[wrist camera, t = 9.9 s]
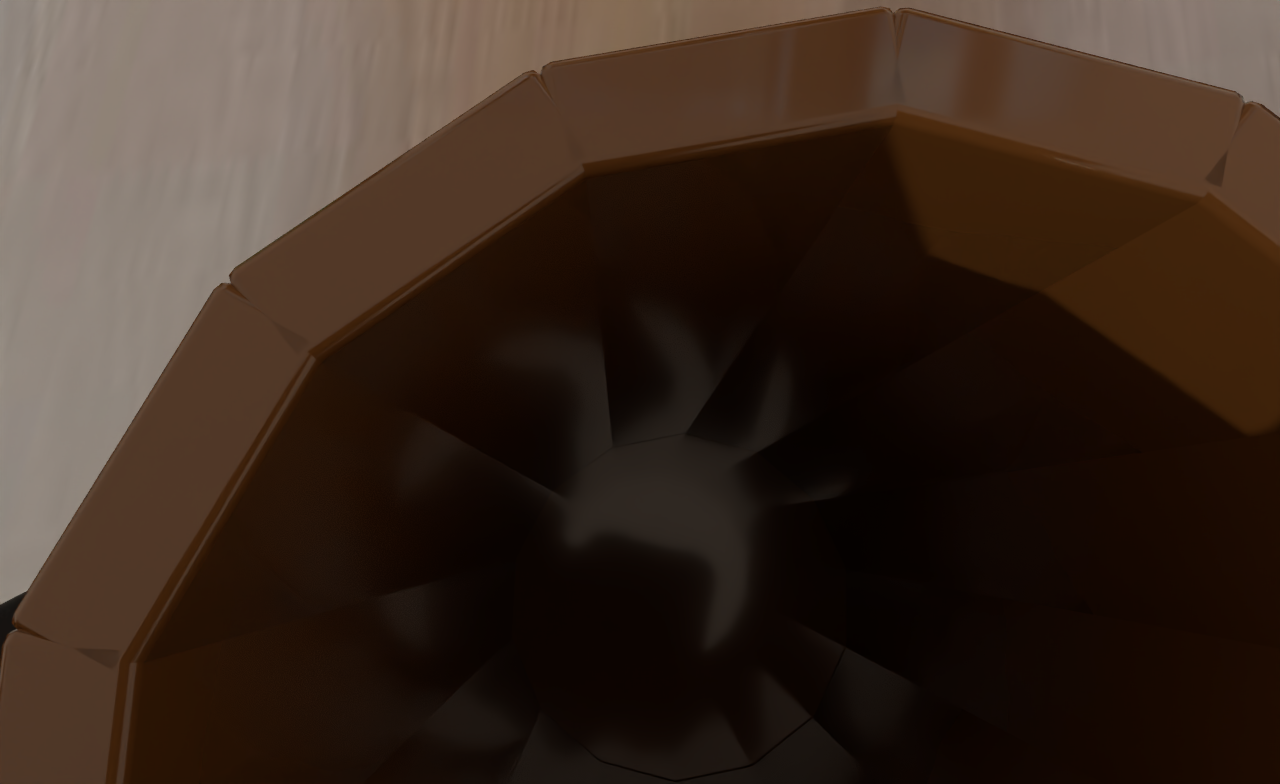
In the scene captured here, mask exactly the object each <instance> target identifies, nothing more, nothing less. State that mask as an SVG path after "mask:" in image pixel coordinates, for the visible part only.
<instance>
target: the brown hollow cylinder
mask: <svg viewBox="0 0 1280 784" xmlns="http://www.w3.org/2000/svg"><path fill="white" fill-rule="evenodd" d="M229 277H230V282H231V283H221V284H220V285H219V286H217V287H216V288H215V289H214V290H213V292H212V293H211V295H210V296H209V298H208V300H207V301H206V303H205V305H204V306H203V308H202V309H201V311H200V313H199V314H198V316H197V317H196V319H195V321H194V322H193V324H192V326H191V327H190V329H189V330H188V332H187V334H186V335H185V337H184V339H183V340H182V342H181V343H180V345H179V347H178V348H177V350H176V351H175V353H174V355H173V356H172V358H171V360H170V361H169V363H168V364H167V366H166V368H165V369H164V371H163V372H162V374H161V376H160V377H159V379H158V381H157V382H156V384H155V385H154V387H153V389H152V390H151V392H150V393H149V395H148V397H147V398H146V400H145V402H144V403H143V405H142V406H141V408H140V410H139V411H138V413H137V415H136V416H135V418H134V419H133V421H132V423H131V424H130V426H129V427H128V429H127V431H126V432H125V434H124V436H123V437H122V439H121V440H120V442H119V444H118V445H117V447H116V448H115V450H114V452H113V453H112V455H111V457H110V458H109V460H108V461H107V463H106V465H105V466H104V468H103V469H102V471H101V473H100V474H99V476H98V478H97V479H96V481H95V482H94V484H93V486H92V487H91V489H90V491H89V492H88V494H87V495H86V497H85V499H84V500H83V502H82V503H81V505H80V507H79V508H78V510H77V512H76V513H75V515H74V516H73V518H72V520H71V521H70V523H69V524H68V526H67V528H66V529H65V531H64V533H63V534H62V536H61V537H60V539H59V541H58V542H57V544H56V546H55V547H54V549H53V550H52V552H51V554H50V555H49V557H48V558H47V560H46V562H45V563H44V565H43V567H42V568H41V570H40V571H39V573H38V575H37V576H36V578H35V579H34V581H33V583H32V584H31V586H30V588H29V589H28V591H27V592H26V594H25V596H24V597H23V599H22V600H21V602H20V604H19V605H18V607H17V609H16V610H15V612H14V614H13V619H12V624H13V625H14V627H15V628H16V630H13V631H11V632H10V633H9V634H7V637H6V639H5V641H4V643H3V645H2V651H1V658H0V784H1280V118H1279V117H1278V116H1277V115H1275V114H1274V113H1273V112H1271V111H1270V110H1269V109H1268V108H1266V107H1265V106H1264V105H1262V104H1259V103H1256V102H1253V101H1251V102H1246V103H1244V99H1243V96H1241V95H1240V94H1239V93H1237V92H1236V91H1232V90H1228V89H1224V88H1220V87H1216V86H1212V85H1208V84H1204V83H1201V82H1197V81H1193V80H1189V79H1185V78H1181V77H1177V76H1173V75H1169V74H1165V73H1162V72H1158V71H1154V70H1150V69H1146V68H1142V67H1138V66H1134V65H1130V64H1127V63H1123V62H1119V61H1115V60H1111V59H1107V58H1103V57H1099V56H1095V55H1091V54H1088V53H1084V52H1080V51H1076V50H1072V49H1068V48H1064V47H1060V46H1056V45H1053V44H1049V43H1045V42H1041V41H1037V40H1033V39H1029V38H1025V37H1021V36H1017V35H1014V34H1010V33H1006V32H1002V31H998V30H994V29H990V28H986V27H982V26H979V25H975V24H971V23H967V22H963V21H959V20H955V19H951V18H947V17H943V16H940V15H936V14H932V13H928V12H924V11H920V10H916V9H912V8H900V9H898V10H896V11H895V12H894V14H893V12H892V11H891V10H890V8H886V7H876V8H870V9H864V10H858V11H852V12H846V13H840V14H834V15H828V16H822V17H816V18H810V19H804V20H798V21H792V22H786V23H780V24H774V25H768V26H763V27H757V28H751V29H745V30H739V31H733V32H727V33H721V34H715V35H709V36H703V37H697V38H691V39H685V40H679V41H673V42H667V43H661V44H655V45H649V46H643V47H637V48H631V49H625V50H619V51H614V52H608V53H602V54H596V55H590V56H584V57H578V58H572V59H566V60H560V61H554V62H550V63H548V64H547V65H545V66H543V67H542V69H541V73H540V74H538V73H537V72H535V71H534V70H532V71H528V72H525V73H523V74H522V75H520V76H519V77H517V78H516V79H514V80H513V81H511V82H510V83H508V84H507V85H505V86H504V87H502V88H501V89H499V90H498V91H496V92H495V93H493V94H492V95H490V96H489V97H487V98H486V99H485V100H483V101H482V102H480V103H479V104H477V105H476V106H474V107H473V108H471V109H470V110H468V111H467V112H465V113H464V114H462V115H461V116H459V117H458V118H456V119H455V120H453V121H452V122H450V123H449V124H447V125H446V126H444V127H443V128H441V129H440V130H438V131H437V132H436V133H434V134H433V135H431V136H430V137H428V138H427V139H425V140H424V141H422V142H421V143H419V144H418V145H416V146H415V147H413V148H412V149H410V150H409V151H407V152H406V153H404V154H403V155H401V156H400V157H398V158H397V159H395V160H394V161H392V162H391V163H390V164H388V165H387V166H385V167H384V168H382V169H381V170H379V171H378V172H376V173H375V174H373V175H372V176H370V177H369V178H367V179H366V180H364V181H363V182H361V183H360V184H358V185H357V186H355V187H354V188H352V189H351V190H349V191H348V192H346V193H345V194H343V195H342V196H341V197H339V198H338V199H336V200H335V201H333V202H332V203H330V204H329V205H327V206H326V207H324V208H323V209H321V210H320V211H318V212H317V213H315V214H314V215H312V216H311V217H309V218H308V219H306V220H305V221H303V222H302V223H300V224H299V225H297V226H296V227H294V228H293V229H292V230H290V231H289V232H287V233H286V234H284V235H283V236H281V237H280V238H278V239H277V240H275V241H274V242H272V243H271V244H269V245H268V246H266V247H265V248H263V249H262V250H260V251H259V252H257V253H256V254H254V255H253V256H251V257H250V258H248V259H247V260H246V261H244V262H243V263H241V264H240V265H238V266H237V267H235V268H234V270H233V271H232V272H231V273H230V275H229Z"/></svg>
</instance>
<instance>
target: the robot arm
mask: <svg viewBox="0 0 1280 784" xmlns="http://www.w3.org/2000/svg"><path fill="white" fill-rule="evenodd" d="M26 592H27V591H26ZM26 592H24V593H22V594H20V595H18V596H16V597H14V598H12V599H11V600H9V601H7V602H5V603H3V604H1V605H0V658H1V651H2V645H3V643H4V641H5V639H6V637H7V634H9V633H10V632H11V631H13V630H16V628H15V627H14V625H13V624H12V619H13V614H14V612H15V610H16V609H17V607H18V605H19V604H20V602H21V600H22V599H23V597H24V596H25V594H26Z"/></svg>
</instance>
